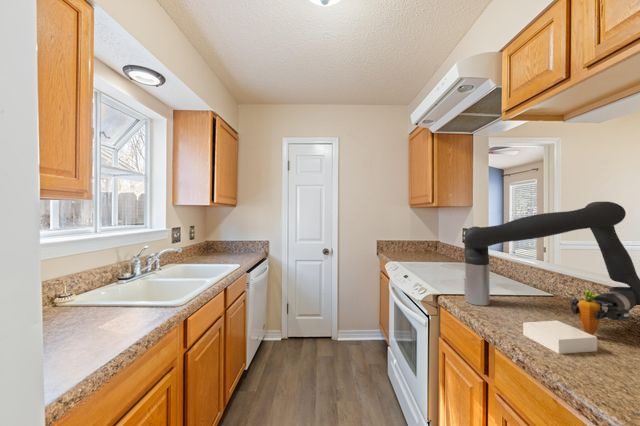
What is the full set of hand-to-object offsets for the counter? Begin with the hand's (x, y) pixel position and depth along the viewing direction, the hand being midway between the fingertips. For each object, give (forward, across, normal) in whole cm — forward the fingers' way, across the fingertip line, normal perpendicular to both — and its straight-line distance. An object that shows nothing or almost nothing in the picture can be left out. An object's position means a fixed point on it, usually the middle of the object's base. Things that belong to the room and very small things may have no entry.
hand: (585, 313), depth 86 cm
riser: (+10, -3, +8) cm, 13 cm away
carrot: (-3, 0, +8) cm, 9 cm away
